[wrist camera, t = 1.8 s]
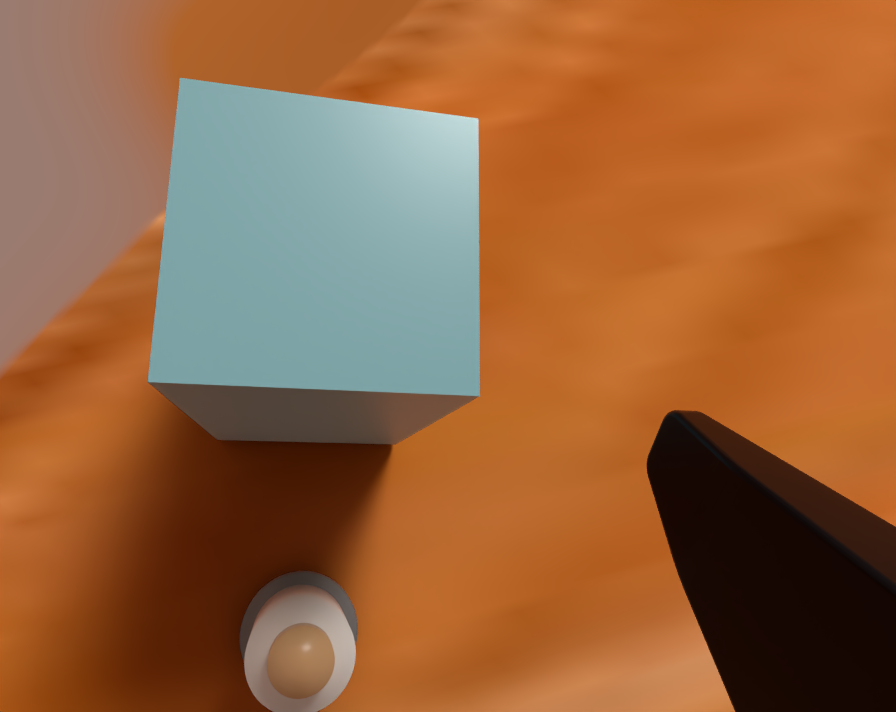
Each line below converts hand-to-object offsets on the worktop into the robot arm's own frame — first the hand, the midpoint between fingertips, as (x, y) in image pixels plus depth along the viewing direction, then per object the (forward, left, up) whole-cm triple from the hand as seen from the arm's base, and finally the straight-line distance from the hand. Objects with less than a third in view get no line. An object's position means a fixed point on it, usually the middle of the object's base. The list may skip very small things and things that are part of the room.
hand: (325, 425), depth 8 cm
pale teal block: (+3, +2, -11) cm, 12 cm away
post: (-4, -2, -11) cm, 12 cm away
